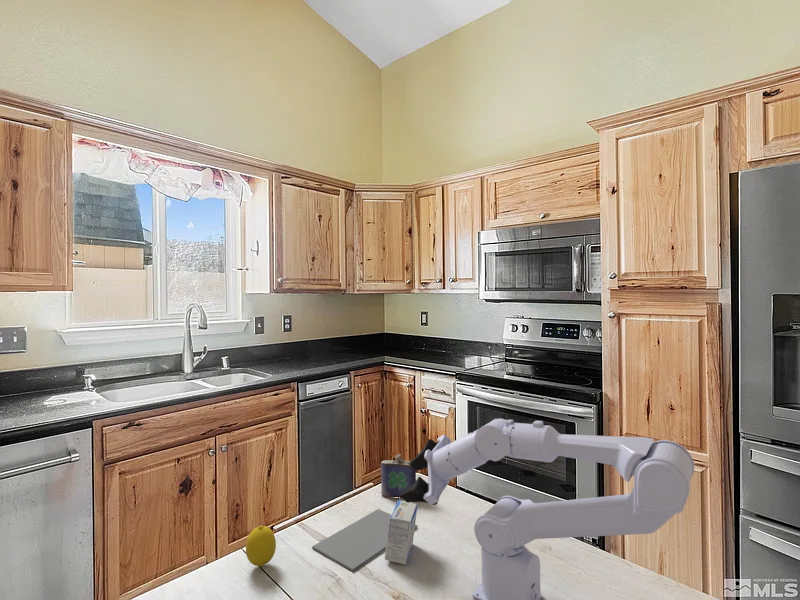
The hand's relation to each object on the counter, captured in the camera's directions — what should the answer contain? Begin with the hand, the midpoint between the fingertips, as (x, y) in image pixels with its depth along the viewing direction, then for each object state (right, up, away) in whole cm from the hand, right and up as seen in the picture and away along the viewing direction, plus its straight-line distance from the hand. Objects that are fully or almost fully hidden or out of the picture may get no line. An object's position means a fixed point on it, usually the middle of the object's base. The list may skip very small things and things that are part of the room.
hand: (409, 481), depth 88 cm
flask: (-2, -15, +26) cm, 30 cm away
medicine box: (-2, -15, +1) cm, 15 cm away
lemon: (-29, -16, -3) cm, 33 cm away
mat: (-9, -15, +7) cm, 19 cm away
